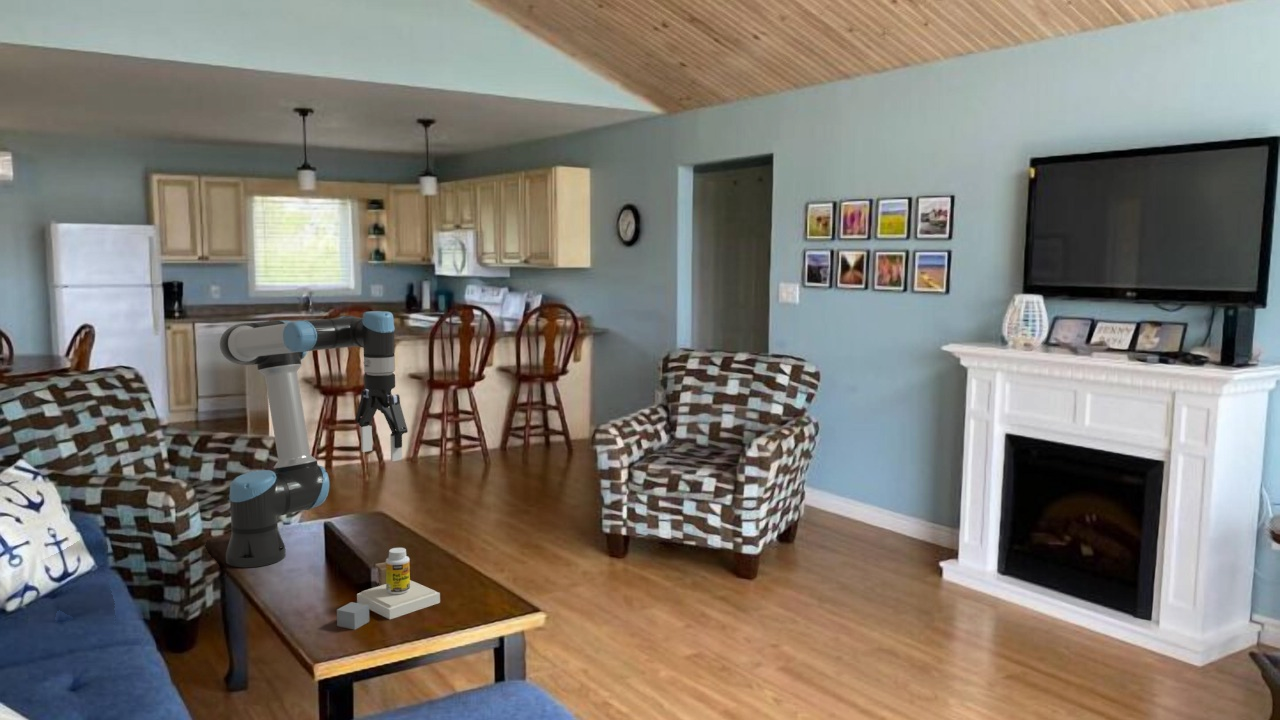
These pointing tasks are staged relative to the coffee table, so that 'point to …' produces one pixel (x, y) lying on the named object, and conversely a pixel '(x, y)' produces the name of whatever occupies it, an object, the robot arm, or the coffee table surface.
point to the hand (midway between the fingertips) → (381, 455)
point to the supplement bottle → (397, 571)
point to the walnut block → (381, 572)
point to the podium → (398, 600)
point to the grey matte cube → (353, 615)
